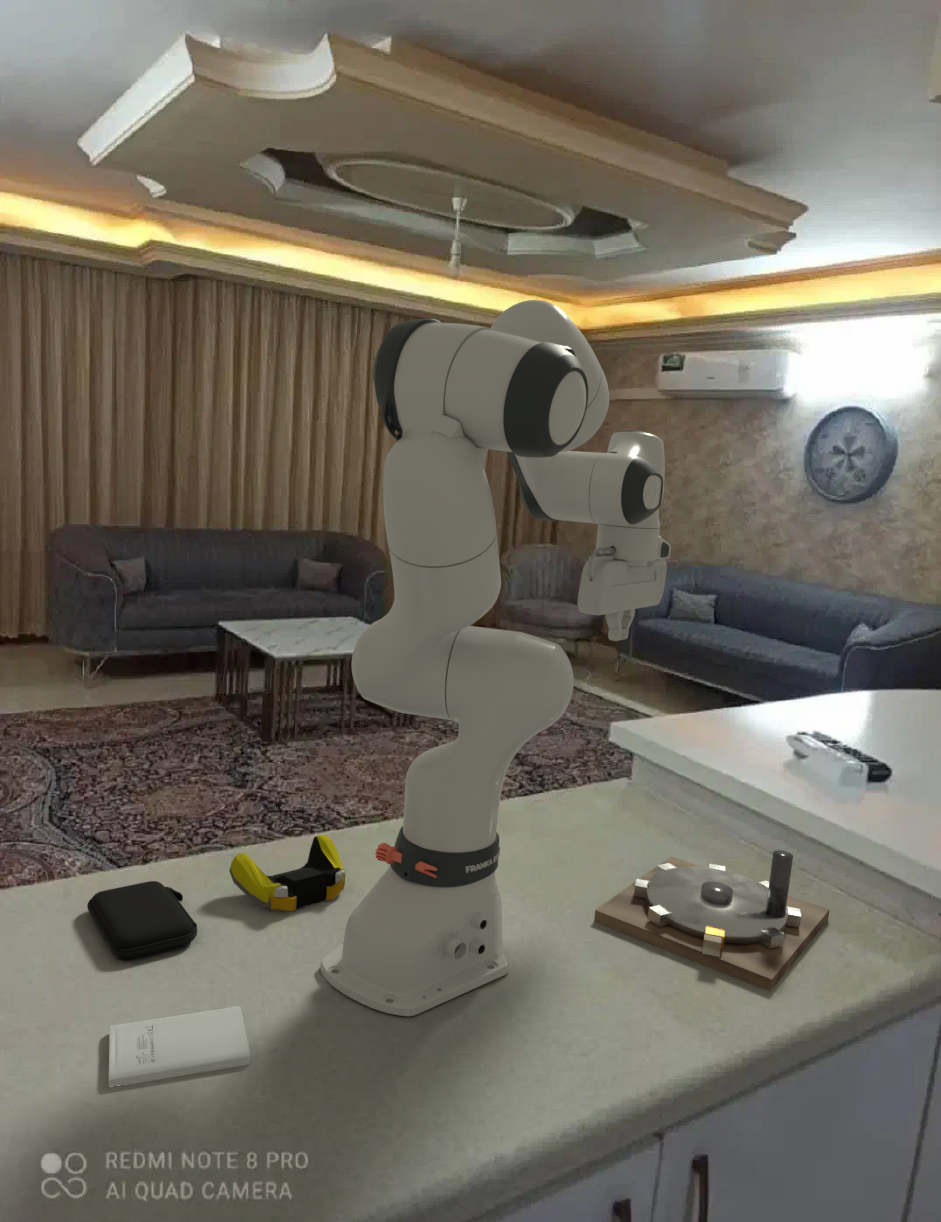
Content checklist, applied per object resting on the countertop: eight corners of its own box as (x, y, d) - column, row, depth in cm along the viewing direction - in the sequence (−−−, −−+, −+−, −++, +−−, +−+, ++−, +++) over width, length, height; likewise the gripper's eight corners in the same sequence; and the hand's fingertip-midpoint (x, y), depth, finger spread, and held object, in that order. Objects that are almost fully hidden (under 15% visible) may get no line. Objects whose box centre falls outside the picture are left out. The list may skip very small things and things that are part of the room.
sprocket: (670, 950, 108) (678, 875, 107) (616, 873, 128) (622, 809, 127) (828, 947, 112) (839, 874, 110) (751, 872, 132) (759, 809, 130)
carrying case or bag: (211, 946, 106) (170, 893, 118) (212, 922, 106) (171, 871, 117) (116, 971, 100) (83, 912, 112) (116, 945, 99) (83, 889, 111)
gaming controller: (224, 892, 119) (258, 925, 111) (225, 852, 118) (260, 882, 110) (324, 866, 128) (363, 894, 121) (326, 829, 127) (365, 855, 120)
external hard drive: (250, 1069, 86) (108, 1093, 81) (239, 1018, 93) (109, 1037, 89) (250, 1054, 86) (108, 1077, 81) (240, 1004, 93) (109, 1022, 89)
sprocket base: (769, 992, 104) (772, 965, 104) (593, 921, 118) (595, 897, 117) (828, 919, 123) (831, 897, 122) (670, 865, 136) (672, 845, 136)
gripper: (611, 550, 122) (602, 651, 124) (676, 546, 138) (666, 635, 140) (571, 545, 125) (562, 643, 128) (638, 541, 142) (630, 629, 144)
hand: (617, 639), depth 134 cm, fingers closed
